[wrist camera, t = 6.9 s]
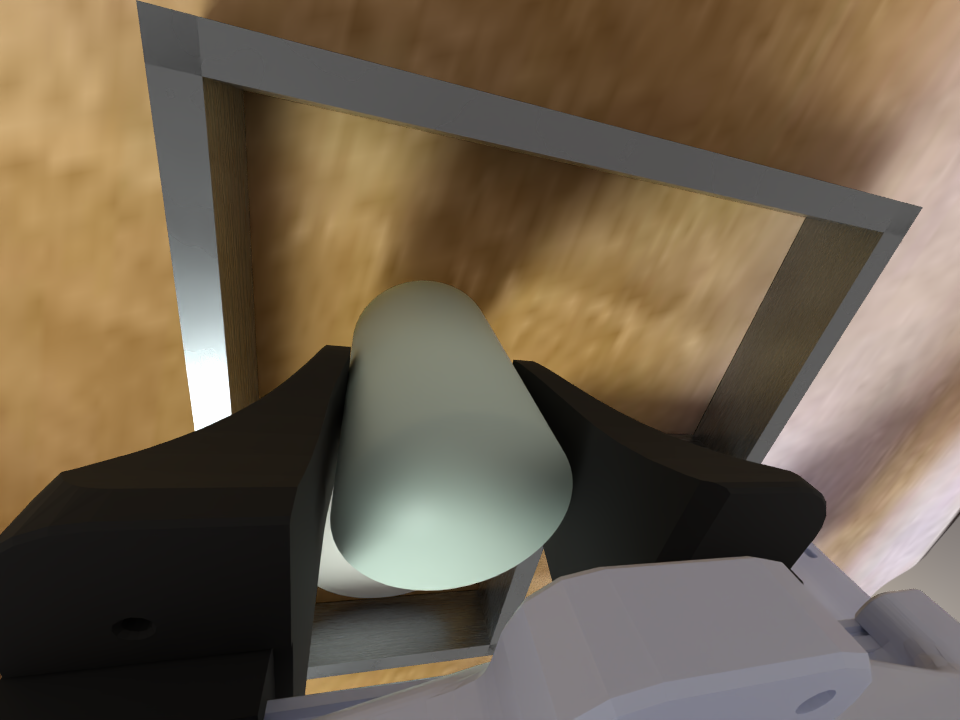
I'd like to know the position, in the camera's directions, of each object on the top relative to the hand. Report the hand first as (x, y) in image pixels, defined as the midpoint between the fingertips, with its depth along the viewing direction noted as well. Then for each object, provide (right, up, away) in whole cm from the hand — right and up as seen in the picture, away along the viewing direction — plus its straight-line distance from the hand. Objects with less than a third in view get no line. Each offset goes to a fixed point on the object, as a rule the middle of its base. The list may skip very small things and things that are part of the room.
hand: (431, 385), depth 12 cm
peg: (-1, +1, +2) cm, 2 cm away
